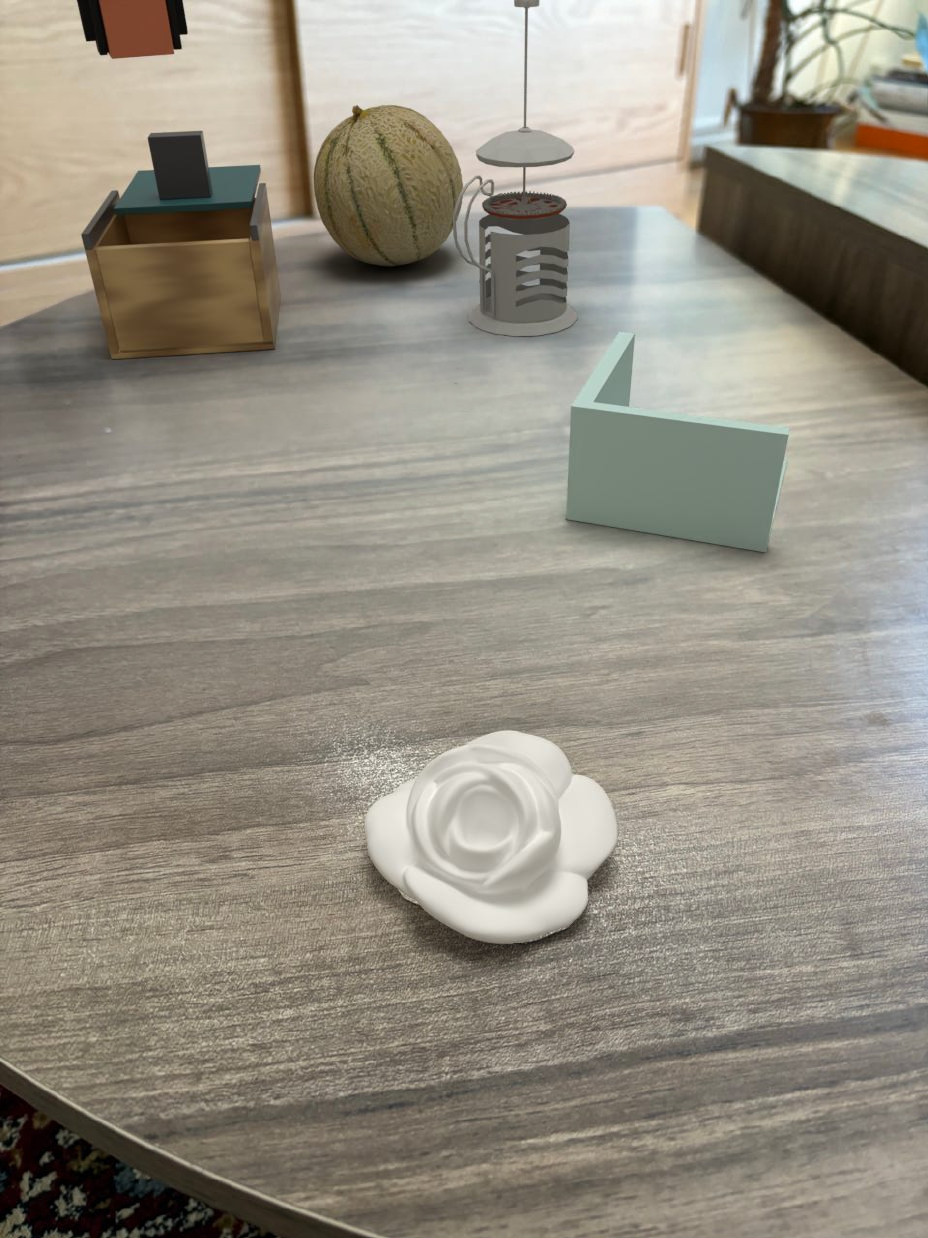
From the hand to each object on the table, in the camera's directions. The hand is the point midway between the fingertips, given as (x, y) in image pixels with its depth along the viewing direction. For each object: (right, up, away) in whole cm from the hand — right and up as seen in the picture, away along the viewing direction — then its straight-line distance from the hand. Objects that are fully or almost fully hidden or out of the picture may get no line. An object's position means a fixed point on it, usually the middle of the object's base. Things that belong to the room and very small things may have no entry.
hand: (139, 46), depth 72 cm
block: (0, 0, 0) cm, 0 cm away
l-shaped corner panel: (+38, -33, -8) cm, 51 cm away
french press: (+28, -15, +17) cm, 36 cm away
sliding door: (-1, -3, +18) cm, 18 cm away
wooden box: (0, -15, +17) cm, 23 cm away
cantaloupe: (+16, -5, +30) cm, 35 cm away
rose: (+25, -51, -32) cm, 65 cm away
